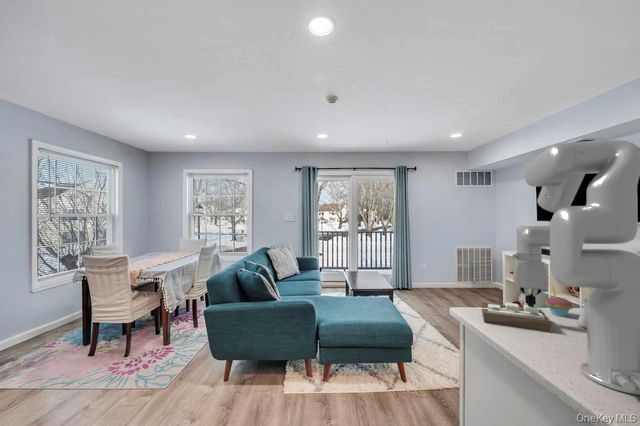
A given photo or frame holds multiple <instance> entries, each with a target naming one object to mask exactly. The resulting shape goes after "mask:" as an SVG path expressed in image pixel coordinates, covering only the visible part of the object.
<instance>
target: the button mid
mask: <svg viewBox="0 0 640 426" xmlns="http://www.w3.org/2000/svg"><path fill="white" fill-rule="evenodd" d="M504 305H505V308H506V309H510V310H518V311H519V307H520V306H519V304H518V303H513V302H512V303H511V302H505V303H504Z"/></svg>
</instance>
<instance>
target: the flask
mask: <svg viewBox="0 0 640 426" xmlns="http://www.w3.org/2000/svg"><path fill="white" fill-rule="evenodd" d="M587 299H588V298H582V301H583V307H582V311H581V312H580V315H579V317H578V318H577V321H576V325H577V326H579V327H581V328H584V329H587V314H586V303H587Z"/></svg>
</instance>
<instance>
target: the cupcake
mask: <svg viewBox="0 0 640 426" xmlns="http://www.w3.org/2000/svg"><path fill="white" fill-rule="evenodd" d="M551 286H552V287H551V290H552V294H553V296H552V297H548V298H546V299H545V306H547V307H548V308H549V311H550V313H551V315H553V314H555V315H554V316H556V315H558V316H557V317H562V316H565V317H567V316H568V313H569V311H570V310H573V308H574V306H573V303H572V302H571V301H569V300H568V299H566V298H564V297H559V296H558V297H557V295H556V291H555V287H554V286H553V285H551Z"/></svg>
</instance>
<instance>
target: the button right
mask: <svg viewBox="0 0 640 426" xmlns="http://www.w3.org/2000/svg"><path fill="white" fill-rule="evenodd" d="M523 308H524V311H526V312H535V313H539V307H538V306H537V305H534V307H532V306H528V305H527V304H523Z"/></svg>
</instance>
